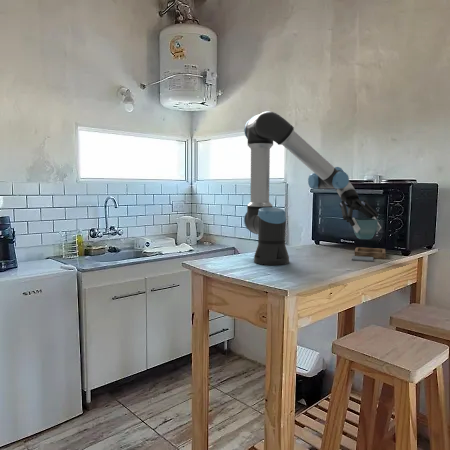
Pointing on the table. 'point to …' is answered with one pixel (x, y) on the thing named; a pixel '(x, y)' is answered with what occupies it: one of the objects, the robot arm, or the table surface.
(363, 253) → the wooden tray
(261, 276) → the table surface
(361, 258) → the mat
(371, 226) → the flower pot
